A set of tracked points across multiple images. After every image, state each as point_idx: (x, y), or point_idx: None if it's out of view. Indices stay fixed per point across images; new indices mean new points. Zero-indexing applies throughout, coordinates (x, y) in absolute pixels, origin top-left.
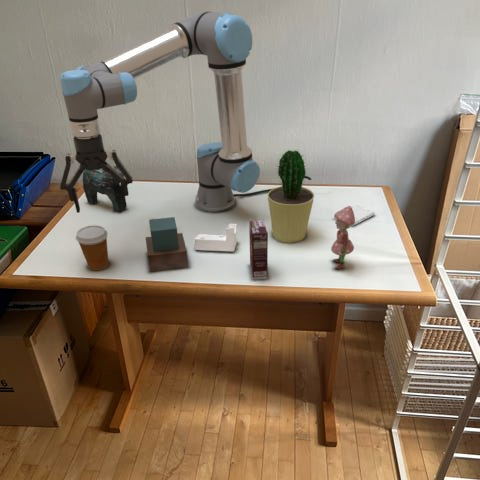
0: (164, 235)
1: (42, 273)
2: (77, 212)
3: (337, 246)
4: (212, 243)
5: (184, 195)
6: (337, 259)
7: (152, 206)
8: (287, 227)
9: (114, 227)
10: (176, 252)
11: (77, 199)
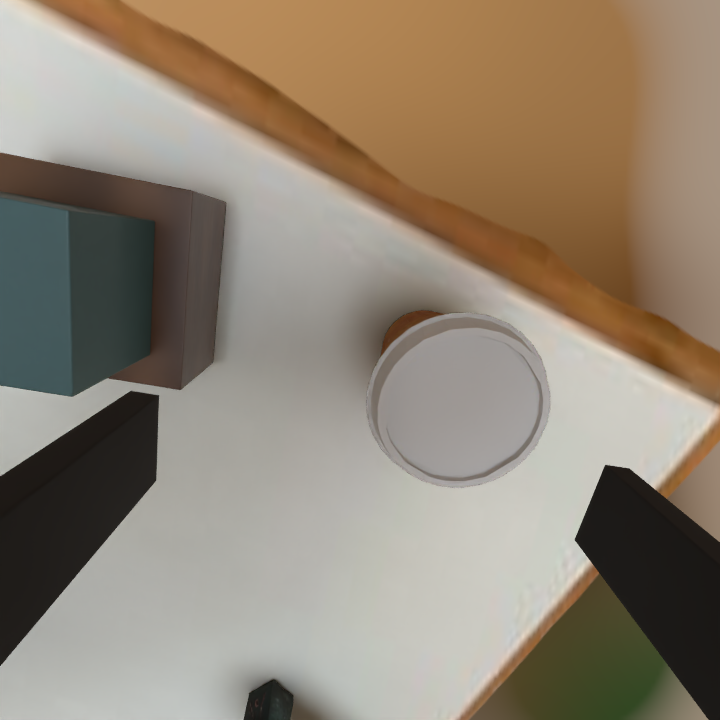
0: (3, 195)
1: (628, 377)
2: (626, 468)
3: None
4: None
5: (20, 716)
6: None
7: (150, 682)
8: None
9: (310, 592)
10: (27, 159)
11: (663, 616)
